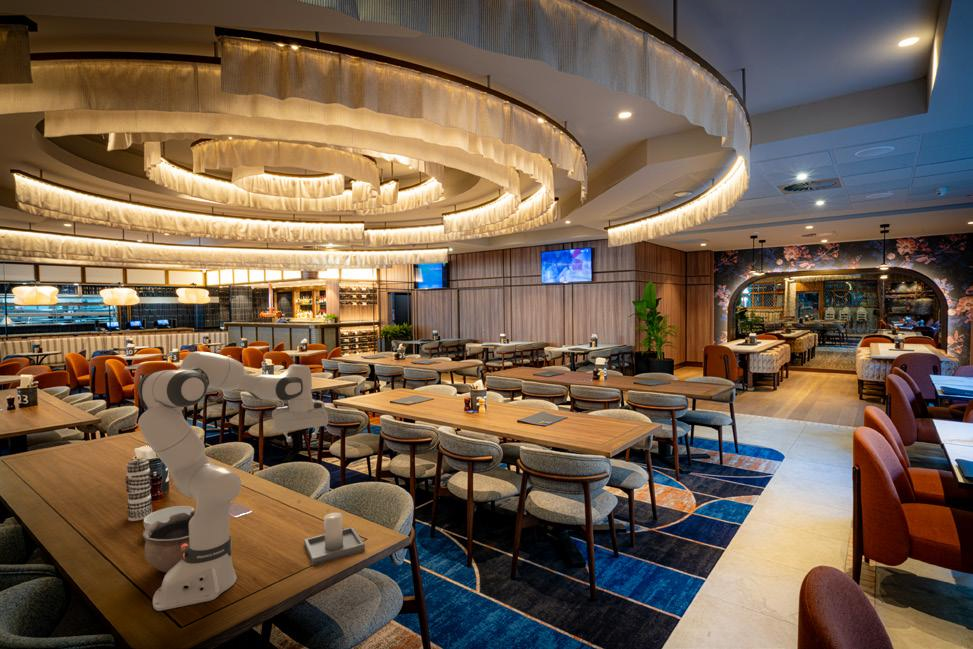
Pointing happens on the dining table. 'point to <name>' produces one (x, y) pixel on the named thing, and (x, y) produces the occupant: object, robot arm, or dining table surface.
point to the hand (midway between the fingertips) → (301, 439)
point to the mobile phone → (238, 510)
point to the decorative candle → (138, 489)
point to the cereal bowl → (165, 514)
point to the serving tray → (321, 555)
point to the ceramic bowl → (167, 541)
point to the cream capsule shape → (333, 531)
